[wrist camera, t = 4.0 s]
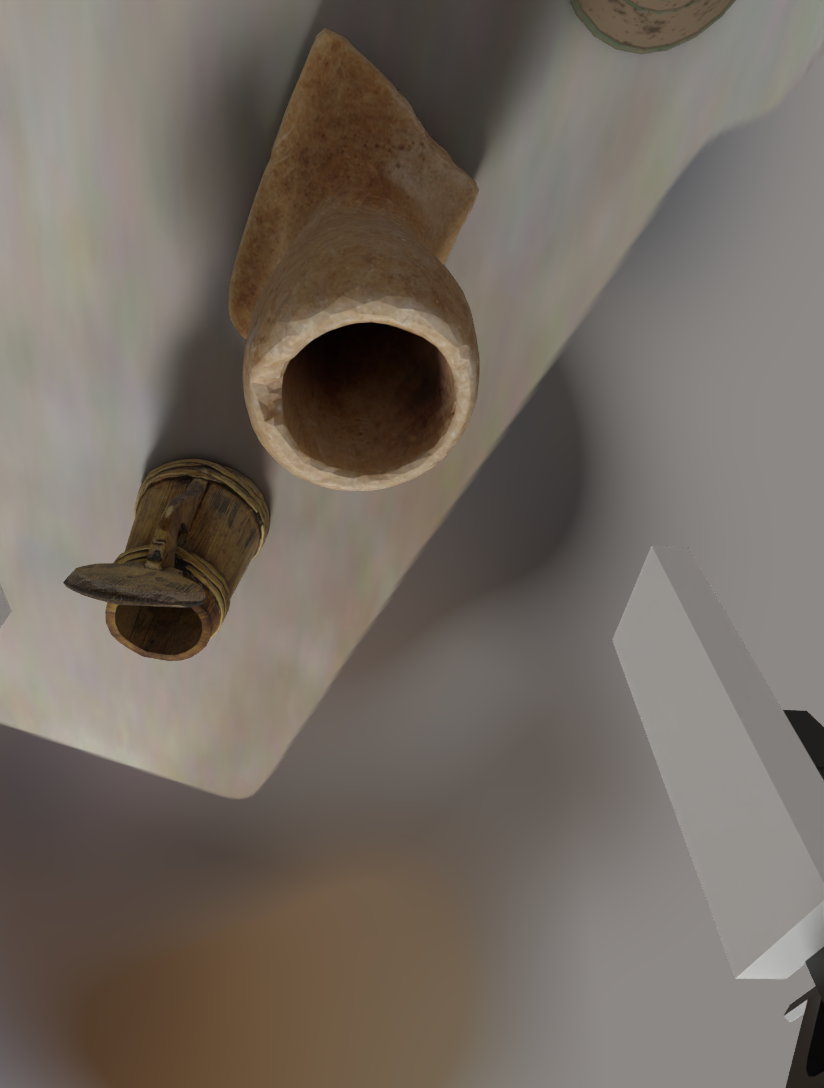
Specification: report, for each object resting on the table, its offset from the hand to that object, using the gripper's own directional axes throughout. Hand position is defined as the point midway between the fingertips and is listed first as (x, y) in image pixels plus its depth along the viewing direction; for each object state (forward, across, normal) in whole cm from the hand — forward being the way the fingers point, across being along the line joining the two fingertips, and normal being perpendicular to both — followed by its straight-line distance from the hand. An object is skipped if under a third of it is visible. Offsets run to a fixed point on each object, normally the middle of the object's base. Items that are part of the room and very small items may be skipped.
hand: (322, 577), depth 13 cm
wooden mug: (+27, -10, -16) cm, 33 cm away
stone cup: (+27, 0, 0) cm, 27 cm away
